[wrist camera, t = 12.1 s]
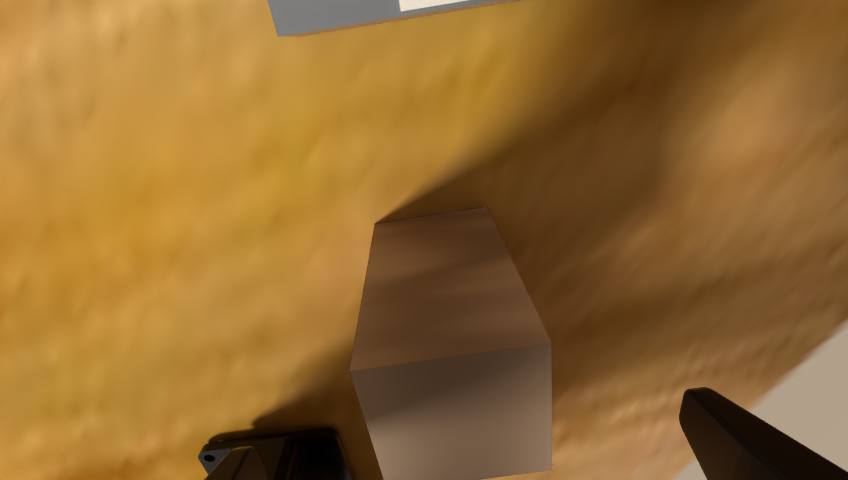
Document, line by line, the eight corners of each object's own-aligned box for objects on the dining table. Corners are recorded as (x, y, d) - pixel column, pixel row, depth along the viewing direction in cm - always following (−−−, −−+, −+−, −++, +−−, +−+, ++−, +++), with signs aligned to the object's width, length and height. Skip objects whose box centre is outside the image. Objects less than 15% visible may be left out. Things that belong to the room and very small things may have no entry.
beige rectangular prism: (487, 206, 14) (551, 342, 8) (494, 299, 16) (552, 470, 10) (374, 223, 14) (349, 370, 8) (394, 313, 16) (387, 491, 10)
